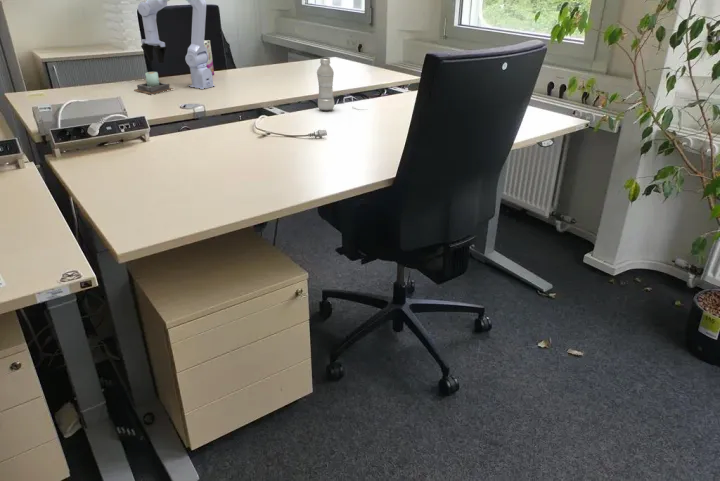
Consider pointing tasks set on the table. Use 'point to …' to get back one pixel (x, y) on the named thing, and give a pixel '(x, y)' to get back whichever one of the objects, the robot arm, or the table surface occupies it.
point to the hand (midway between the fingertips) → (156, 61)
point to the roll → (152, 79)
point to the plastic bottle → (325, 85)
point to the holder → (152, 88)
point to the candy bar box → (209, 56)
